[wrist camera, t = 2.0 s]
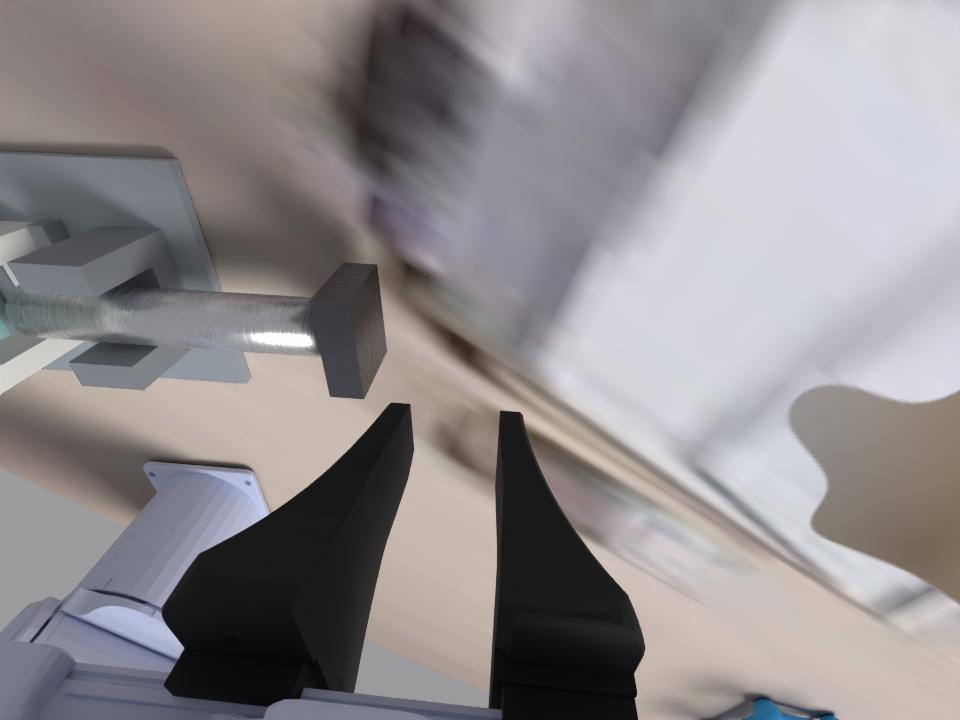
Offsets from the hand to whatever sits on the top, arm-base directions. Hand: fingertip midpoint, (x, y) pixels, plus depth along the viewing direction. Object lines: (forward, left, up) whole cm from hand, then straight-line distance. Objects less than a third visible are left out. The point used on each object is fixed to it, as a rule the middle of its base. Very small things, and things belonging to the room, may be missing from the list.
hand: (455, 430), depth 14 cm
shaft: (0, +12, -8) cm, 14 cm away
